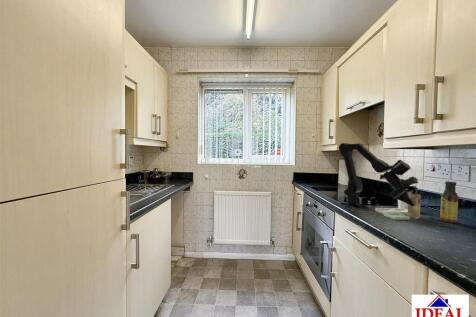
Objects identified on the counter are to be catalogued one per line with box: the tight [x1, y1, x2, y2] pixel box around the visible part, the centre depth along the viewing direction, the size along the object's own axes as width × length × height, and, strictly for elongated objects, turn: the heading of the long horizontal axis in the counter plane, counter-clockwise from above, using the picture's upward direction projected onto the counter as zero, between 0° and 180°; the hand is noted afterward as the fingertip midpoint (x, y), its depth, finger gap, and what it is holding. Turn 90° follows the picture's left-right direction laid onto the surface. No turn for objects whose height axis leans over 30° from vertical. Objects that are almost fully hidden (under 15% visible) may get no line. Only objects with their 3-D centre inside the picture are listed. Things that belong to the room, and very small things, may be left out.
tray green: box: [383, 213, 411, 221], centre depth 121 cm, size 8×8×2 cm
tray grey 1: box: [374, 207, 399, 215], centre depth 131 cm, size 8×8×2 cm
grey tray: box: [389, 207, 408, 216], centre depth 132 cm, size 8×8×2 cm
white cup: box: [397, 199, 408, 210], centre depth 140 cm, size 8×8×10 cm
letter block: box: [407, 193, 422, 220], centre depth 122 cm, size 4×4×12 cm
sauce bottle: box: [439, 180, 459, 224], centre depth 116 cm, size 6×6×20 cm
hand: (417, 205), depth 121 cm, fingers open, 8 cm apart
